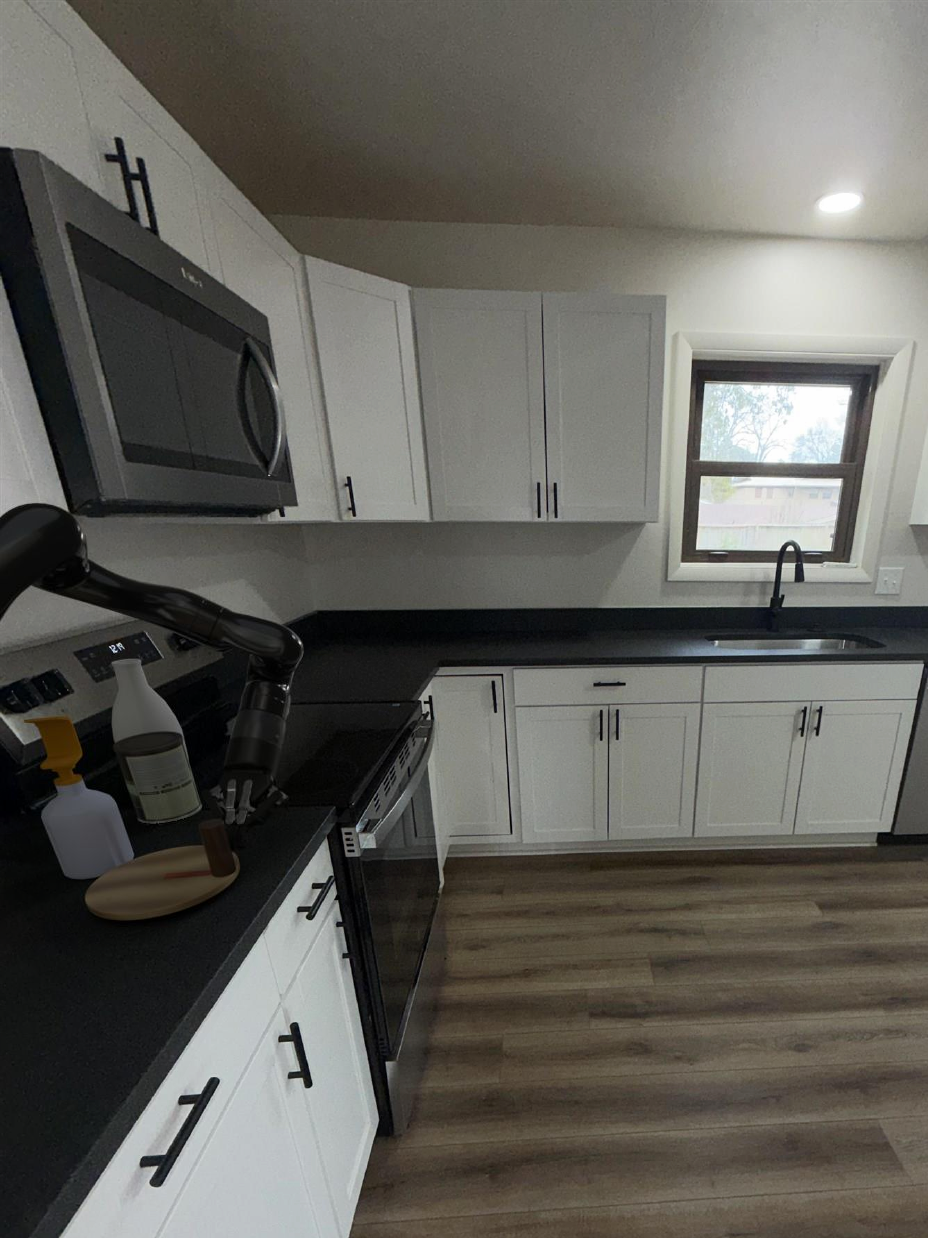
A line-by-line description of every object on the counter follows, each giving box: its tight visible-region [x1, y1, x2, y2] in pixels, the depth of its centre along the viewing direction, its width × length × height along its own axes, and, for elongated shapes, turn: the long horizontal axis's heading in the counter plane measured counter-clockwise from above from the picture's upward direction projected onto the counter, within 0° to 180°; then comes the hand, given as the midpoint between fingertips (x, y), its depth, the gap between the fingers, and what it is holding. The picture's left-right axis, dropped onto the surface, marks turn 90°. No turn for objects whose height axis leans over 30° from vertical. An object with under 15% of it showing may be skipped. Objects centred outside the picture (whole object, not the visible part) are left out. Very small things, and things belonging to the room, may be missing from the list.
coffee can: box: [112, 731, 203, 825], centre depth 115 cm, size 10×10×14 cm
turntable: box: [84, 818, 241, 921], centre depth 92 cm, size 19×19×9 cm
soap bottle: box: [23, 716, 135, 880], centre depth 95 cm, size 9×9×25 cm
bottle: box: [110, 658, 190, 762], centre depth 123 cm, size 11×11×25 cm
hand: (233, 850), depth 95 cm, fingers closed
